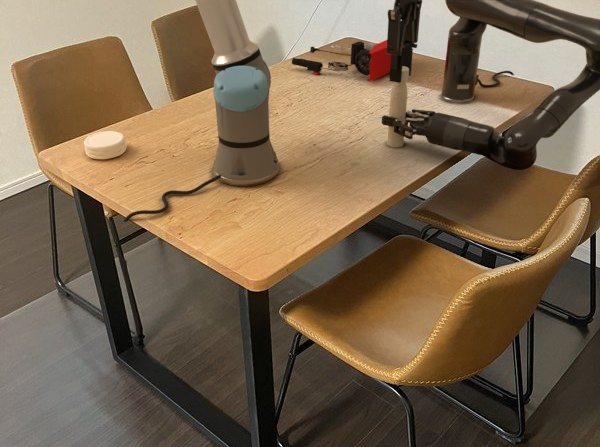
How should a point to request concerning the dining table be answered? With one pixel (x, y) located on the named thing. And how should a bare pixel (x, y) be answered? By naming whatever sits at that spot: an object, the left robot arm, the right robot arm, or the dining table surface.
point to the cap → (405, 73)
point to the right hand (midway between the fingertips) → (387, 116)
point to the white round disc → (105, 145)
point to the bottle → (397, 111)
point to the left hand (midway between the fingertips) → (400, 77)
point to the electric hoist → (356, 60)
